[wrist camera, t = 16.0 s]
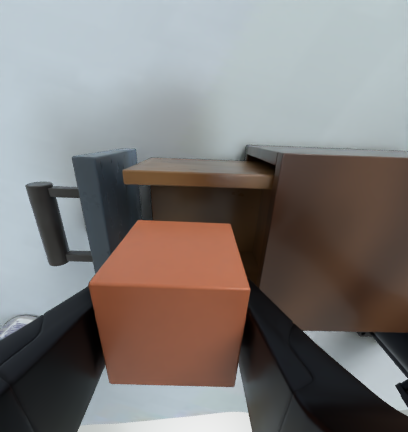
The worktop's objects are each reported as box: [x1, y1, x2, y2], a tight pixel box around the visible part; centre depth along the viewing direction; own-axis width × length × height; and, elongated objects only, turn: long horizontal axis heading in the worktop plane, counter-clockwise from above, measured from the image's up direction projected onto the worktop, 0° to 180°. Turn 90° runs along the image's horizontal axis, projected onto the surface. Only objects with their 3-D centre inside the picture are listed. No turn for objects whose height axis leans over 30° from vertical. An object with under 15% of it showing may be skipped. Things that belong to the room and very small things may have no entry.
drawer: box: [26, 149, 276, 285], centre depth 15 cm, size 17×10×7 cm, turn 88°
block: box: [88, 220, 251, 387], centre depth 8 cm, size 4×4×4 cm
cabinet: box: [245, 145, 408, 333], centre depth 15 cm, size 13×11×8 cm
